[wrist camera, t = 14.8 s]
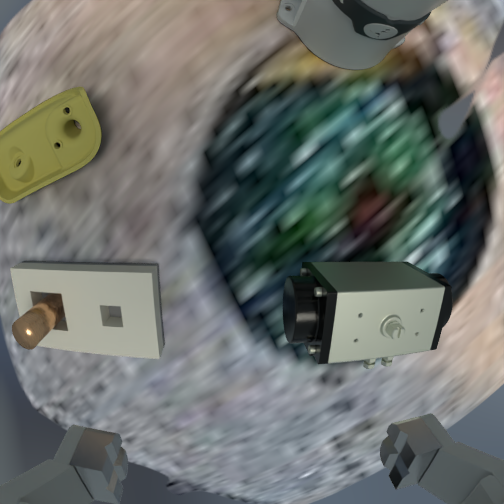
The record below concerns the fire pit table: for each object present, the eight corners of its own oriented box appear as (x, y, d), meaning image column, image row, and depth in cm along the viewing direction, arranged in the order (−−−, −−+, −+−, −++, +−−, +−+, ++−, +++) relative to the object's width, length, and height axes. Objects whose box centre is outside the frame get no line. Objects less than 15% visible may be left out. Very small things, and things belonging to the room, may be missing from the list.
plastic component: (4, 208, 35) (-28, 151, 28) (25, 183, 40) (-2, 131, 34) (113, 154, 33) (81, 80, 27) (127, 134, 39) (101, 70, 33)
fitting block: (38, 332, 42) (26, 343, 38) (24, 260, 39) (10, 268, 35) (164, 344, 44) (159, 358, 40) (158, 263, 41) (151, 272, 37)
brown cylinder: (45, 289, 39) (9, 318, 30) (67, 292, 40) (32, 322, 30) (50, 314, 40) (16, 346, 31) (71, 317, 41) (39, 351, 31)
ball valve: (271, 309, 43) (297, 388, 26) (274, 248, 41) (306, 300, 24) (388, 304, 45) (455, 364, 28) (396, 249, 43) (476, 290, 26)
